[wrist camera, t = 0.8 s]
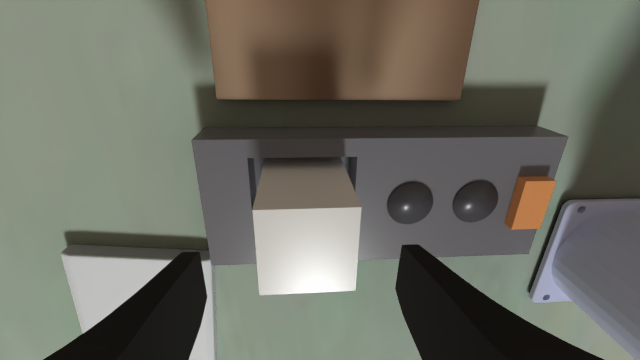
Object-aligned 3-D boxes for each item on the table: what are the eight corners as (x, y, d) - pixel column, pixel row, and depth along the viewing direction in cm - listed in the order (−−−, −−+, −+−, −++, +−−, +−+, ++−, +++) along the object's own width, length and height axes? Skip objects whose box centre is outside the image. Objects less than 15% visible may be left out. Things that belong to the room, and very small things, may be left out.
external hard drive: (216, 244, 20) (219, 376, 24) (75, 238, 19) (108, 376, 24) (210, 261, 18) (214, 398, 23) (56, 255, 17) (95, 399, 22)
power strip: (533, 124, 18) (578, 140, 15) (502, 230, 20) (535, 260, 18) (206, 126, 16) (187, 143, 14) (221, 238, 19) (208, 272, 16)
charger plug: (339, 154, 17) (361, 207, 12) (337, 217, 19) (355, 290, 13) (265, 155, 17) (252, 210, 11) (269, 219, 18) (259, 295, 13)
